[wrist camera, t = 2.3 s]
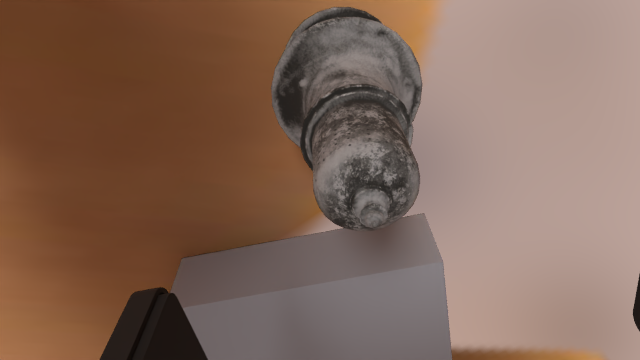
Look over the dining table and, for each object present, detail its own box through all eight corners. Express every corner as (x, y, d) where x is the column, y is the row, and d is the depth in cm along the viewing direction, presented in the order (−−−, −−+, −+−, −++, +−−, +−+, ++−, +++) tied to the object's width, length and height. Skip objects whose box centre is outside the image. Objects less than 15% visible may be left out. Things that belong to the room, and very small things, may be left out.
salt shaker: (429, 77, 21) (547, 240, 11) (328, 148, 23) (348, 346, 13) (355, -32, 19) (416, 46, 8) (249, 57, 20) (192, 211, 10)
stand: (182, 258, 26) (163, 311, 23) (424, 213, 25) (443, 261, 22) (250, 401, 33) (244, 458, 30) (441, 371, 32) (458, 426, 29)
